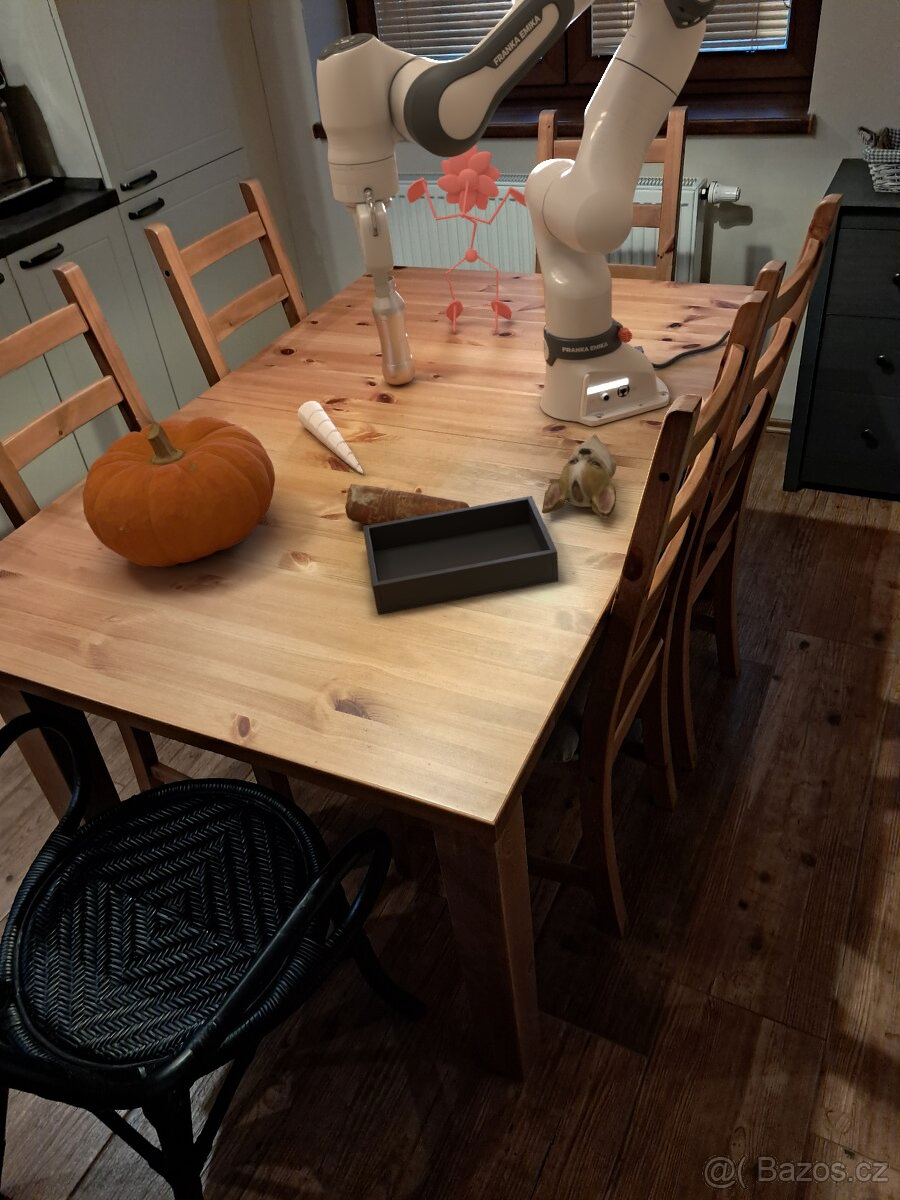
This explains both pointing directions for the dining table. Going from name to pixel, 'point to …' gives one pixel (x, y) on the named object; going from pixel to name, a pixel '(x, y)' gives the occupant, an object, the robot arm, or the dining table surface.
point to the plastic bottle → (393, 336)
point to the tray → (459, 554)
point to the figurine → (468, 207)
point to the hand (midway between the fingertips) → (379, 285)
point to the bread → (392, 504)
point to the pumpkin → (178, 491)
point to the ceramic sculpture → (585, 480)
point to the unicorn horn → (326, 432)
